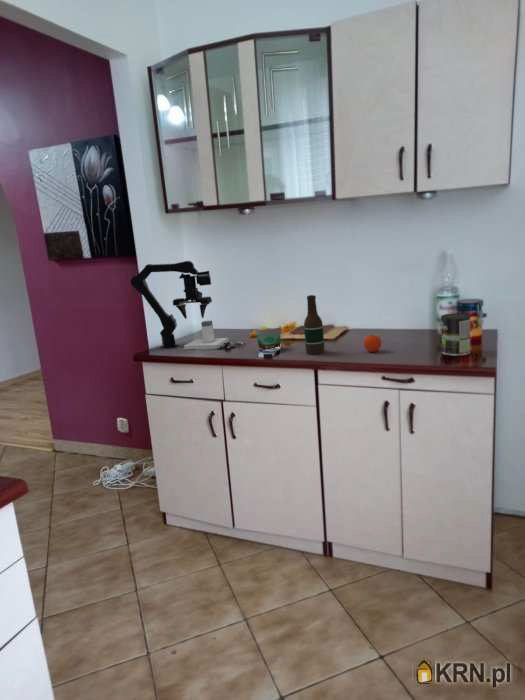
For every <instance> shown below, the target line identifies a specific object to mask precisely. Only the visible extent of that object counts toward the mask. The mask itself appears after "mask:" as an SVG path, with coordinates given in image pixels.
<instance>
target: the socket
mask: <svg viewBox="0 0 525 700" xmlns="http://www.w3.org/2000/svg"><path fill="white" fill-rule="evenodd" d="M226 342H228V343H229V342H230V341H229V337H221V338H219V337H217V338H215V337H214V342H212V343H204V341H203V338H196V339H194V340H192V341H190V342H189V343H186V344H184V345H183V349H197V350H218V349H219V348H221V347H223V346H224V345H225V344H224V343H226ZM223 344H224V345H223ZM226 344H227V343H226ZM222 345H223V346H222ZM220 346H221V347H220ZM217 348H218V349H217Z"/></svg>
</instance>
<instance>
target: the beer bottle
mask: <svg viewBox="0 0 525 700" xmlns="http://www.w3.org/2000/svg"><path fill="white" fill-rule="evenodd" d="M306 299H307V301H306V302H307V315H306V317H305V319H304V322H303V328H304V329H303V331H304V344H305V352H306V354H307V355H310V356H311V355H313V356H314V355H321V354H323V353H325V338H324V325H323V320H322V318H321V317H320V316H319V314H318V313H319V312H318V310H317V309H318V307H317V302H316V295H314V294H313V295H311V294H310V295H306Z"/></svg>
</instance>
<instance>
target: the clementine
mask: <svg viewBox="0 0 525 700" xmlns="http://www.w3.org/2000/svg"><path fill="white" fill-rule="evenodd" d="M381 346H382V338H381V335H379V334H369V335H367V336H366V337H365V338H364V340H363V347H364V348H365V350H366V351H368V352H370V353H375V352H377V351H379V350H380V349H381Z"/></svg>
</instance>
